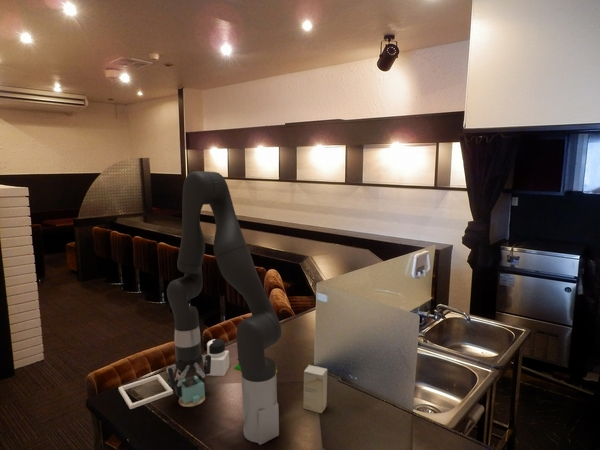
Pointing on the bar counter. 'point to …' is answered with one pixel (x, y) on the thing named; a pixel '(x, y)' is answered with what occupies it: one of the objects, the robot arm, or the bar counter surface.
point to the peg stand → (189, 383)
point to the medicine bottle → (218, 357)
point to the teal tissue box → (192, 391)
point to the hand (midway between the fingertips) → (190, 391)
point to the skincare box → (315, 388)
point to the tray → (147, 400)
